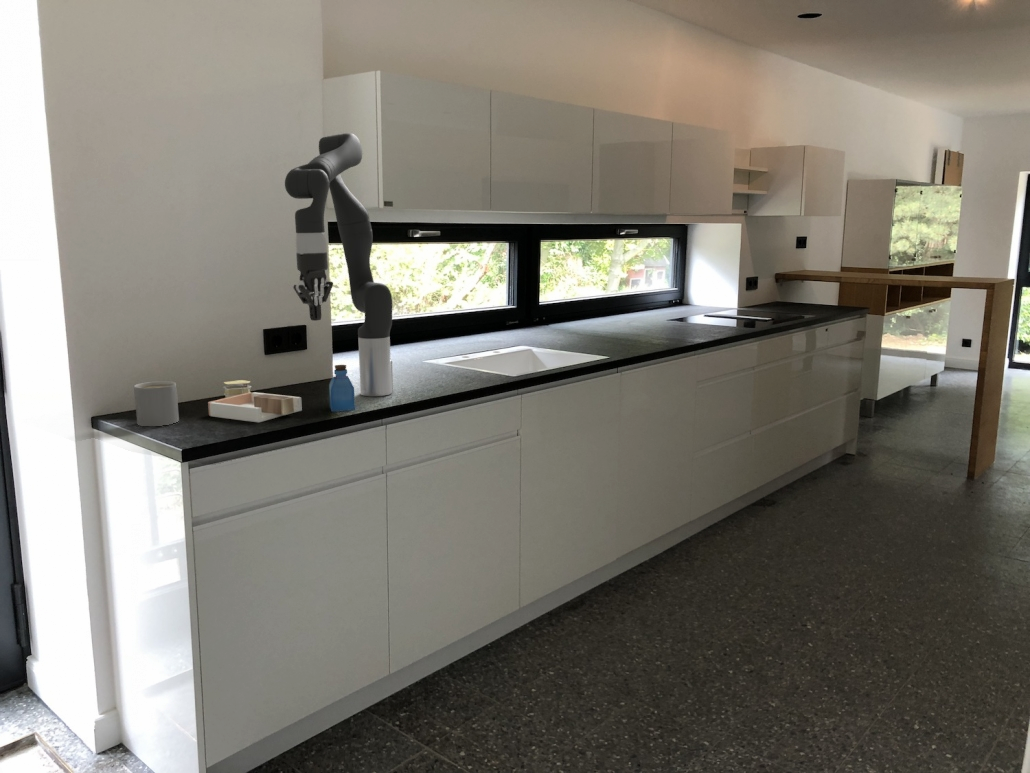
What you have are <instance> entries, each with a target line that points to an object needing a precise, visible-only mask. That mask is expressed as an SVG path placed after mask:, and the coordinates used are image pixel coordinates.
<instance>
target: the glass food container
mask: <svg viewBox="0 0 1030 773" xmlns="http://www.w3.org/2000/svg"><path fill="white" fill-rule="evenodd" d="M223 383H224V384H226V386H225V385H224V386H223V389H224V393H223V395H224V396H225V398H228V397H232V396H236V395H240V394H245V393H249V392H251V388H252V385H249V383H251V380H245V379H244V380H243V379H240V380H239V379H237V380H230V381H224V382H223Z"/></svg>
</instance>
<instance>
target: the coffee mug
mask: <svg viewBox="0 0 1030 773" xmlns="http://www.w3.org/2000/svg"><path fill="white" fill-rule="evenodd" d="M133 392H134V401H135V402H134V404H135V412H136V413H135V416H136V424H138V425H141V426H162V425H169V424H173V423H176V422H178V421H179V422H180V415H179V405H178V404H179V402H178V401H179V400H178V391H177V383H176V382H175V381H170V380H169V381H168V380H167V381H165V380H163V381H162V380H159V381H149V382H147V381H146V382H142V383H141V382H140V383H137V384H135V385H134V386H133ZM179 422H178V423H179ZM176 424H177V423H176ZM138 425H137V426H138ZM173 425H174V424H173ZM169 426H170V425H169ZM162 427H163V426H162Z"/></svg>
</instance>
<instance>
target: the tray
mask: <svg viewBox="0 0 1030 773" xmlns="http://www.w3.org/2000/svg"><path fill="white" fill-rule="evenodd" d="M263 394H266V393H264V392H255V391H254V392H251V391H250V392H249V393H245V394H240V395H236V396H232V397H228V398H226V397H224V398H220V399H217V400H211V401H208V402H207V404H208V405H207V407H208V408H207V409H208V415H209V416H210V417H215V418H221V419H227V420H228V419H231V420H237V421H245V422H251V423H252V422H254V423H262V422H265V421H270V420H272V419H275V418H276V419H277V418H279V417H283V416H286V415H290V414H293V413H297V412H302V411H303V409H302V408H303V407H302V406H303V405H302V403H303V402H302V397H300V396H292V395H286V396H287V397H293V404H294V412H292V413H288V414H285V415H280V414H272V413H264V412H261V408H258V407H254V397H255V396H259V395H263ZM267 394H268V395H277V396H285V395H284V394H283V395H282V394H274V393H267Z"/></svg>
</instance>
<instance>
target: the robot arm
mask: <svg viewBox="0 0 1030 773" xmlns="http://www.w3.org/2000/svg"><path fill="white" fill-rule="evenodd" d="M318 152H319V155H317V156H315V157H314V158H313V159H311V160H310V161H309V162H307V163H305V164H302V165H299V166H297V167H294V168H292V169H290V170H289V172H287V174H286V176H285V179H284V189H285V191H286V192H287V194H288V195H289V196H290V197H292V198H293V199H297V200H299V199H301V200H302V199H312V202H311V203H310V205H309V206H308V207H303V208H299V209H297V210H296V211H295V213H294V222H295V254H296V267H297V268H296V269H297V271H299V273H300V274H299V275H300V276H299V282H298V283H297V284H294V285H293V286H292V287H293V290H294V292H295V293H296V295H297V296H298V298H299V300H301V302H302V304H304V305H305V304H306V305H307V306H308V308H309V309H308V311H309V318H310V321H321V319H322V305H323V303H326V302H327V300H328V298H329V296H330V293H331V291H332V288H333V286H334V282H333V281H329V280H328V279H327V277H328V276H327V275H326V270H328V268H329V267H328V266H329V265H328V264H329V263H328V249H327V248H328V246H327V238H326V232H325V209H326V204H327V199H328V195H329V191H330V194H331V199H332V204H333V208H334V213H335V218H336V222H337V228H338V229H337V230H338V233H339V237H340V240H341V244H342V249H343V253H344V257H345V262H346V263H345V264H346V266H347V271H348V279H349V280H348V281H349V288H350V289H349V290H350V297H351V300H352V304H353V306H354V307H355V309H357V311H358V312H361V313H362V314H364V322H363V324H362V325H361V326H359V328H358V329H357V335H358V336H357V337H358V338H357V339H358V361H359V382H360V383H359V386H360V387H359V388H360V395H361V396H364V397H382V396H383V397H384V396H388V395H392V393H393V392H394V380H393V378H394V377H393V376H394V375H393V374H394V372H393V361H392V360H391V339H390V338H391V336H390V333H391V329H392V326H393V297H392V293H391V290H390V288H389V287H388V286H387V285H386V284H384V283H380V282H375V281H374V278H373V274H372V269H371V264H370V263H371V262H370V261H371V260H370V258H371V253H372V247H373V239H374V238H373V237H374V236H373V229H372V224H371V219H370V216H369V213H368V211H367V209H366V207H365V206H364V205H363V204H362V203H361V201H359V199H358V198H357V197H355V195H354V194H353V193H352V192H351V191H350V190H349V188H348V187H347V185H346V184H345V182H344V179H343V178H342V175H341V174H342V173H344V172H345V171H347V170H349V169H350V168H353V167H355V166H358V165H359V164H360V163H361V161H362V158H363V149H362V145H361V141H360V139H359V138H358V137H357V135H356V134H354V133H349V132H345V133H339V134H333V135H327V136H324V137H320V139H319V141H318Z"/></svg>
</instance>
